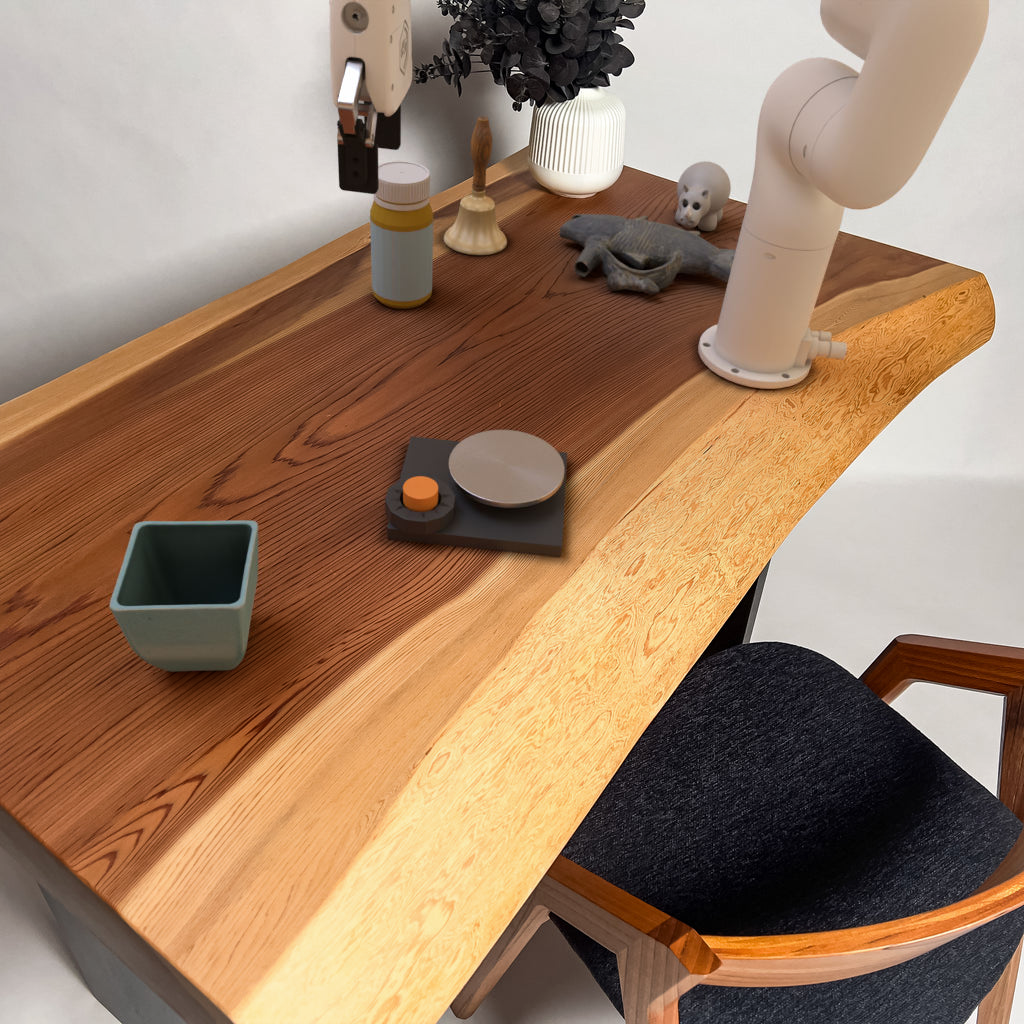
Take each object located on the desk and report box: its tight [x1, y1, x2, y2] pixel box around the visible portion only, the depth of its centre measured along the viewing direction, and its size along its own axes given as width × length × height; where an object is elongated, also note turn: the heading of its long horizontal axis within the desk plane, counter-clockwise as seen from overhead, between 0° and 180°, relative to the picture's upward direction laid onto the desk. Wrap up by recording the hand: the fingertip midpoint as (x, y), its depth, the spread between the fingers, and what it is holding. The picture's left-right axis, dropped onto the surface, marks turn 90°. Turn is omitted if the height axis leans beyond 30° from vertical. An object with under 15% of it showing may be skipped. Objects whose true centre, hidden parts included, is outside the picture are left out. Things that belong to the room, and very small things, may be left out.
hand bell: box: [443, 115, 508, 256], centre depth 120 cm, size 8×8×16 cm
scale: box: [384, 436, 568, 558], centre depth 86 cm, size 16×13×3 cm
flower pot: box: [109, 519, 259, 673], centre depth 70 cm, size 9×9×9 cm
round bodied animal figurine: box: [674, 160, 732, 232], centre depth 130 cm, size 7×12×8 cm, turn 155°
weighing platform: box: [448, 429, 565, 508], centre depth 86 cm, size 10×10×1 cm
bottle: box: [369, 160, 434, 310], centre depth 109 cm, size 7×7×15 cm
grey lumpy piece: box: [558, 213, 736, 296], centre depth 121 cm, size 5×25×15 cm
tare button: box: [403, 476, 438, 512], centre depth 82 cm, size 3×3×2 cm
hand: (371, 168), depth 83 cm, fingers open, 9 cm apart
